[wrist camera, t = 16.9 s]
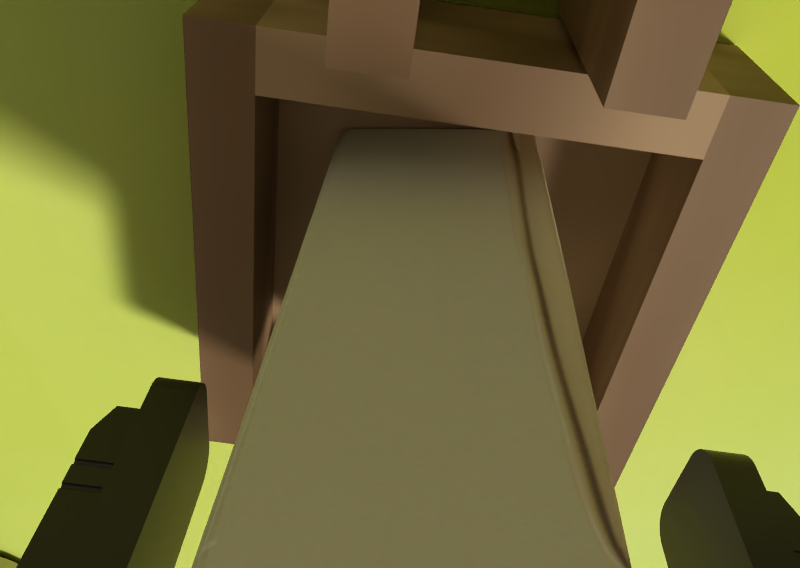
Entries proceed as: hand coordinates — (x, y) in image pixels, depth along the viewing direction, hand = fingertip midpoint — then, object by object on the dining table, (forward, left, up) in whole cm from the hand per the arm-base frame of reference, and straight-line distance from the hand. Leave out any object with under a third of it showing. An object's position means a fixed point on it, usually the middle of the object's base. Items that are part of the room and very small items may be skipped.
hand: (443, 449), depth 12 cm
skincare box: (0, 0, -6) cm, 7 cm away
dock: (0, +1, -7) cm, 7 cm away
